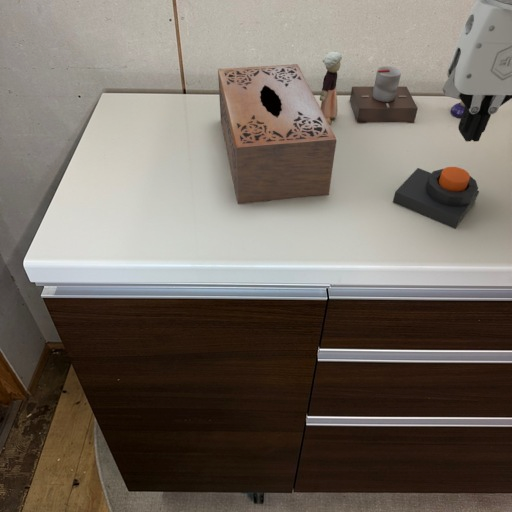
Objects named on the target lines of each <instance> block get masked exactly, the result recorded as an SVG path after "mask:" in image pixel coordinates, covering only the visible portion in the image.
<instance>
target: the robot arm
mask: <svg viewBox="0 0 512 512" xmlns="http://www.w3.org/2000/svg"><path fill="white" fill-rule="evenodd" d="M447 77H448V78H447V80H446V81H445V83H444V85H443V87H442V92H443V94H444V95H445V97H448V98H451V99H454V100H455V99H456V100H459V101H461V100H462V102H463V103H464V105H465V108H464V111H463V114H462V117H461V118H460V120H459V123H458V127H457V128H458V131H459V133H460V134H461V136H462V138H463V139H464V141H465V142H472V141H473V142H479V141H480V139H481V136H482V135H483V133H484V132H485V131H486V128H487V126H488V124H489V122H490V118H491V116H492V115H494V114H496V113H498V112H497V111H499V108H500V107H502V106H503V105H504V104H506V103H507V102H509V101H511V100H512V0H476V1H475V2H474V4H473V6H472V8H471V10H470V12H469V13H468V16H467V17H466V20H465V22H464V24H463V26H462V28H461V31H460V34H459V36H458V38H457V41H456V44H455V46H454V49H453V53H452V55H451V58H450V60H449V64H448V68H447Z"/></svg>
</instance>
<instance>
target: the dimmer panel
mask: <svg viewBox="0 0 512 512" xmlns="http://www.w3.org/2000/svg"><path fill="white" fill-rule="evenodd" d="M373 90H374V86H351V91H350V97H349V102H350V105H351V108H352V111H353V114H354V115H353V116H354V118H355V120H356V123H357V124H358V123H359V124H361V123H363V124H366V123H407V124H409V123H411V124H412V123H415V120H416V117H417V114H418V110H419V107H418V105H417V104H416V102H415V100H414V98H413V96H412V94H411V91H409V89H408V87H407V86H398V89H397V94H396V98H395V100H393V101H390V102H382V101H378V100H376V99H374V98H373Z"/></svg>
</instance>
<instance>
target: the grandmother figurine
mask: <svg viewBox="0 0 512 512" xmlns="http://www.w3.org/2000/svg"><path fill="white" fill-rule="evenodd" d="M342 59H343V55H342V54H341V53H340V52H337V51H330V52H327V54H326V55H325V56H324V58H323V59H322V63H324V66H325V69H326V73H325V75H324V76H323V82H322V87H321V92H320V96H319V101H321V103H320V108H321V110H322V112H323V114H324V116H325V118H326V120H327V122H328V124H329V126H330V125H331V124H332V119H334V118H335V117H337V116H338V93H337V81H338V71H339V70H340V68H341V61H342Z"/></svg>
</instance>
